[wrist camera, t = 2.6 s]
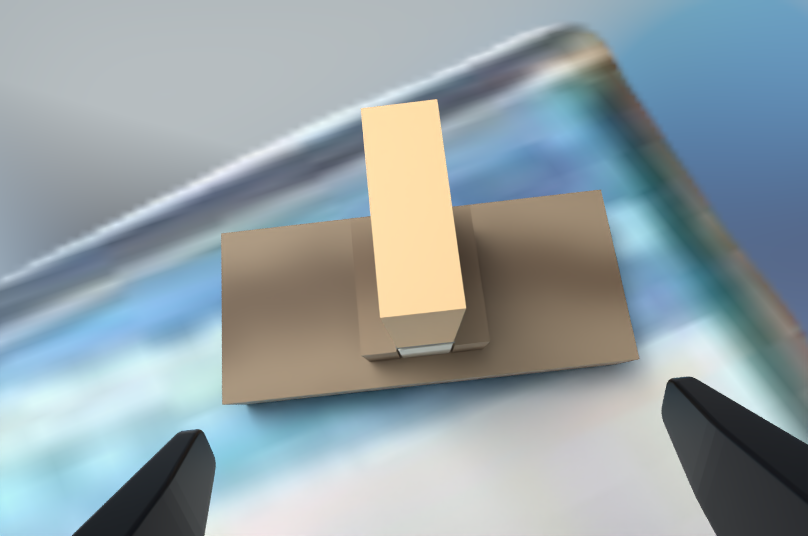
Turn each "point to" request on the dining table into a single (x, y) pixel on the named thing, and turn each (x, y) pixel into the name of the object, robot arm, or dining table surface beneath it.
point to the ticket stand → (463, 360)
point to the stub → (412, 224)
